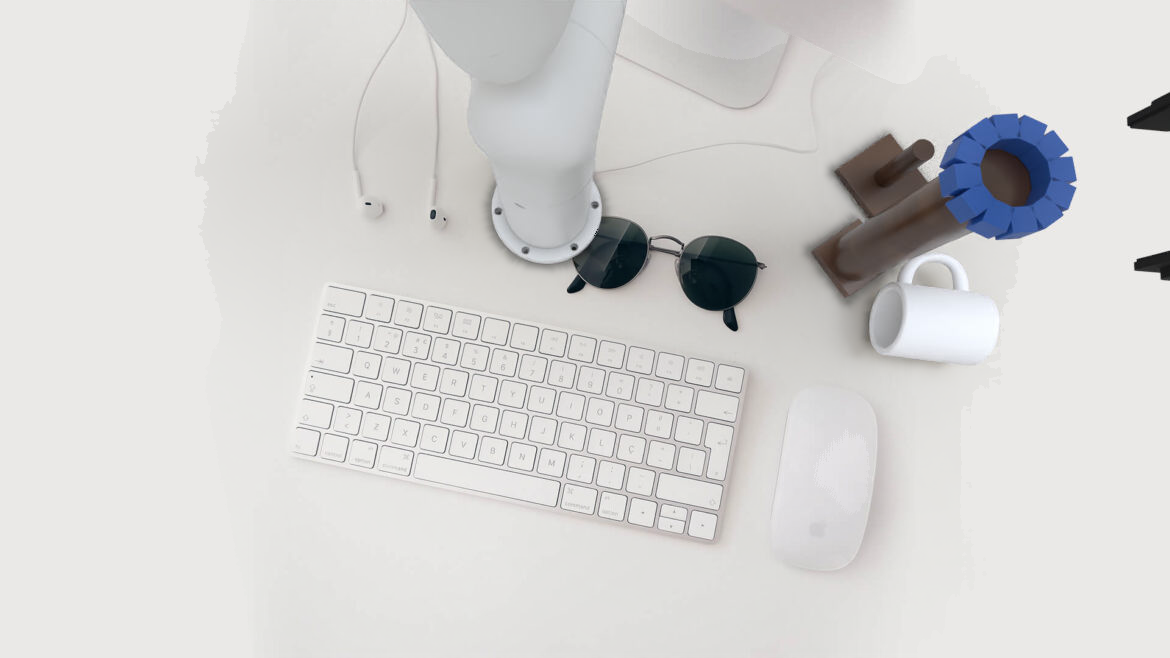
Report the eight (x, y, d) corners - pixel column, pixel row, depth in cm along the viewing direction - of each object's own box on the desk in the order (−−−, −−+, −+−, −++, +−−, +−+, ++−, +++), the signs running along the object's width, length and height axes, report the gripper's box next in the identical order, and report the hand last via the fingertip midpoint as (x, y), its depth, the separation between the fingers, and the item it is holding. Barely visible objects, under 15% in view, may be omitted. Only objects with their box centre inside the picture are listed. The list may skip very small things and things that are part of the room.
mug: (951, 368, 72) (999, 362, 64) (866, 357, 72) (903, 350, 64) (955, 267, 74) (1003, 249, 66) (872, 256, 73) (909, 237, 66)
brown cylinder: (810, 252, 73) (938, 170, 48) (854, 221, 74) (1002, 125, 49) (844, 298, 73) (991, 239, 48) (888, 267, 73) (1056, 193, 49)
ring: (915, 166, 48) (930, 155, 46) (1004, 104, 49) (1023, 91, 47) (989, 262, 48) (1008, 256, 46) (1079, 197, 49) (1101, 188, 47)
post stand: (834, 171, 75) (871, 139, 66) (886, 136, 75) (929, 99, 67) (875, 226, 74) (918, 200, 65) (927, 189, 75) (976, 159, 66)
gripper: (1457, -166, 25) (1090, 66, 42) (1511, 257, 23) (1100, 322, 40) (1630, -146, 25) (1196, 76, 42) (1700, 273, 23) (1213, 330, 40)
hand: (1150, 195), depth 41 cm, fingers open, 9 cm apart
